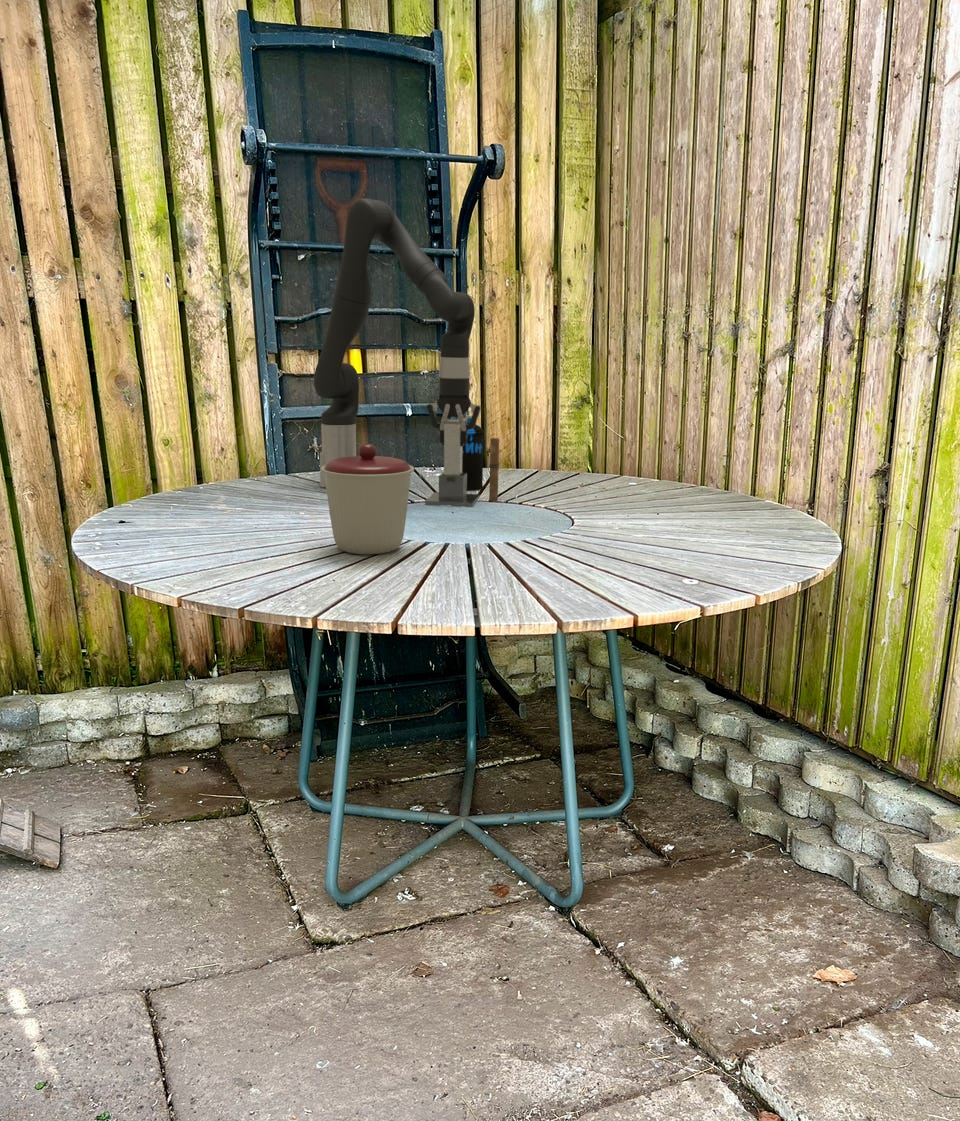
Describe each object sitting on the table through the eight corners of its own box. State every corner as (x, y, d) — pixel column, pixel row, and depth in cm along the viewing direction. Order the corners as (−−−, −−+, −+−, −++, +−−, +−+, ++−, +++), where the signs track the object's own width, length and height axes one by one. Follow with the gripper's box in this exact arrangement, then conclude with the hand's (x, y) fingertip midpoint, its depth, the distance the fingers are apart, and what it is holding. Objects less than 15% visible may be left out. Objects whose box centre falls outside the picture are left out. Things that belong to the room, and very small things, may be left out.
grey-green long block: (442, 483, 226) (442, 421, 222) (445, 480, 230) (446, 419, 226) (460, 484, 225) (461, 421, 221) (463, 481, 229) (464, 420, 225)
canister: (305, 547, 179) (301, 442, 174) (376, 534, 191) (375, 435, 186) (360, 565, 167) (358, 452, 161) (432, 550, 179) (433, 445, 174)
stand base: (425, 504, 224) (425, 477, 222) (434, 496, 235) (434, 469, 233) (472, 507, 222) (472, 479, 220) (479, 498, 234) (479, 471, 232)
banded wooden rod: (488, 500, 230) (490, 438, 226) (489, 499, 232) (491, 437, 228) (497, 501, 230) (498, 439, 226) (498, 499, 232) (499, 438, 228)
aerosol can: (454, 485, 252) (455, 413, 247) (483, 486, 252) (485, 414, 247) (452, 490, 244) (453, 416, 239) (482, 491, 244) (484, 417, 239)
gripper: (423, 376, 218) (422, 446, 222) (480, 377, 216) (479, 448, 221) (429, 374, 225) (428, 442, 230) (484, 376, 223) (483, 444, 228)
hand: (453, 445), depth 225 cm, fingers closed on grey-green long block, 4 cm apart
